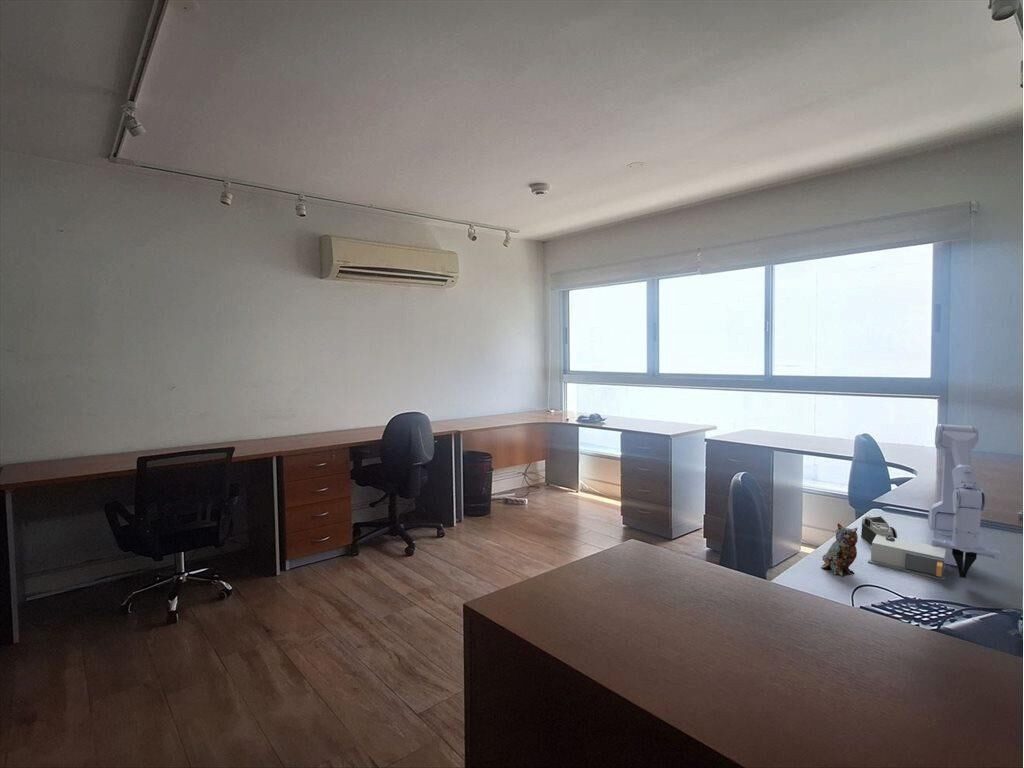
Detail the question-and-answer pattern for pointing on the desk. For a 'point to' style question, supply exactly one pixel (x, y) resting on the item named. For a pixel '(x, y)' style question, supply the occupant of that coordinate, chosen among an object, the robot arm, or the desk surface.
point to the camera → (876, 529)
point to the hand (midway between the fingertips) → (962, 576)
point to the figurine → (841, 552)
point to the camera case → (902, 553)
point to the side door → (924, 564)
